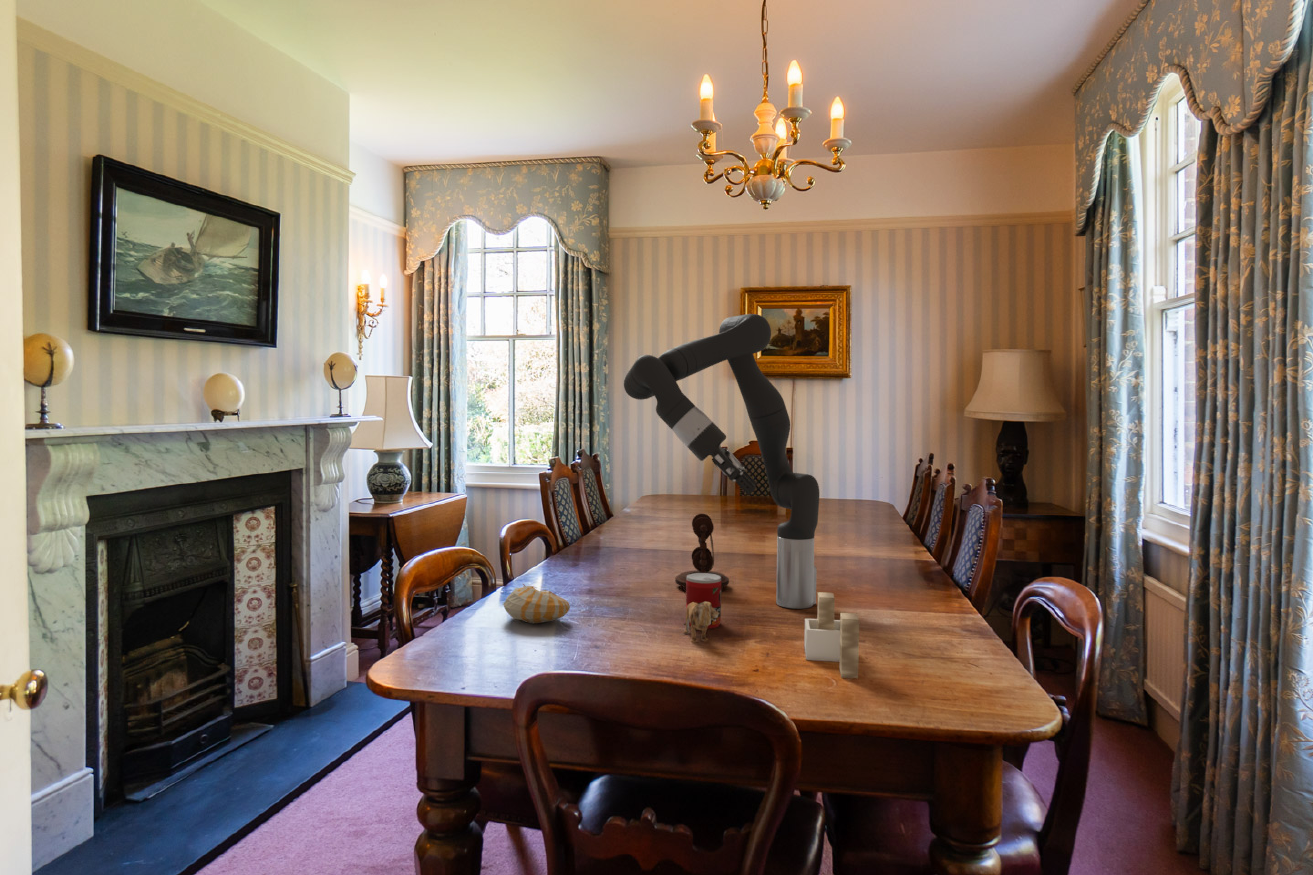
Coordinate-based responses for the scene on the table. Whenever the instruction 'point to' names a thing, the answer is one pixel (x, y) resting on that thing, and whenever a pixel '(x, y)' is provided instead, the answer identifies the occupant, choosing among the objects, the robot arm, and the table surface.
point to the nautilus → (535, 605)
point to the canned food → (705, 592)
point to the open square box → (822, 642)
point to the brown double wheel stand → (702, 551)
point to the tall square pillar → (825, 611)
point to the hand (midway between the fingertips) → (753, 489)
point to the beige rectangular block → (849, 645)
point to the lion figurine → (699, 619)
